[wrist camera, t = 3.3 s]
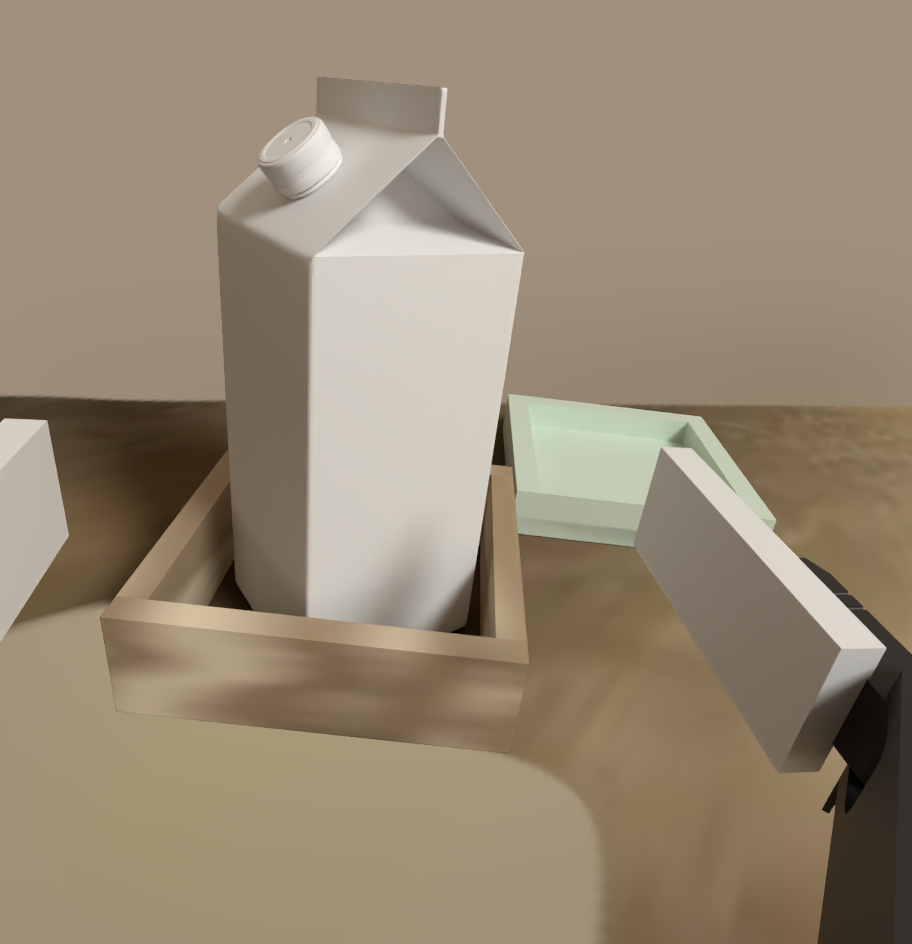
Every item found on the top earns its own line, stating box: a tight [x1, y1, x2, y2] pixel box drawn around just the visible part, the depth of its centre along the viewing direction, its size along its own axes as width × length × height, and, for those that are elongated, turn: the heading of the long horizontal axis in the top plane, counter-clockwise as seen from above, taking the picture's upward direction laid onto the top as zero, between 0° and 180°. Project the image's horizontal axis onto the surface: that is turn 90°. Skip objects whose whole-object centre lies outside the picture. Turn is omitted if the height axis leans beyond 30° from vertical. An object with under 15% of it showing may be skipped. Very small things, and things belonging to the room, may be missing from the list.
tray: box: [503, 394, 776, 547], centre depth 40 cm, size 13×13×2 cm
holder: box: [100, 449, 529, 753], centre depth 27 cm, size 13×13×4 cm
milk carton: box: [217, 77, 525, 633], centre depth 23 cm, size 7×7×19 cm
